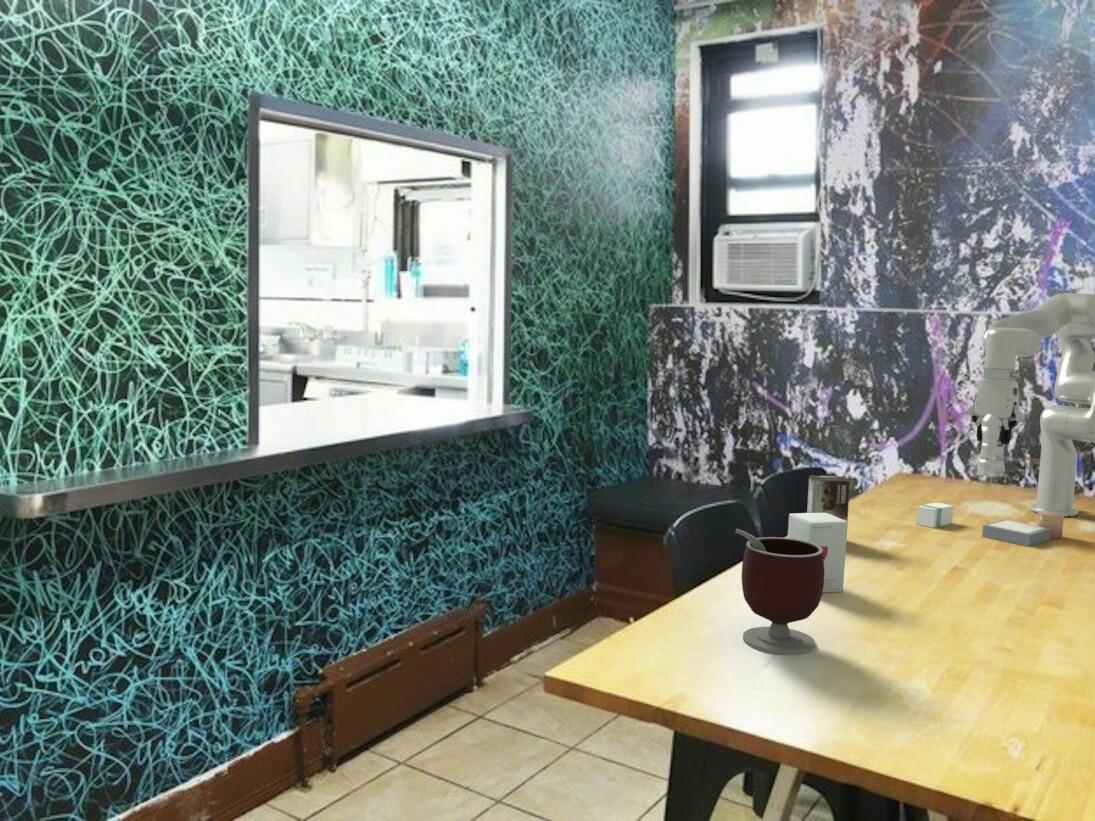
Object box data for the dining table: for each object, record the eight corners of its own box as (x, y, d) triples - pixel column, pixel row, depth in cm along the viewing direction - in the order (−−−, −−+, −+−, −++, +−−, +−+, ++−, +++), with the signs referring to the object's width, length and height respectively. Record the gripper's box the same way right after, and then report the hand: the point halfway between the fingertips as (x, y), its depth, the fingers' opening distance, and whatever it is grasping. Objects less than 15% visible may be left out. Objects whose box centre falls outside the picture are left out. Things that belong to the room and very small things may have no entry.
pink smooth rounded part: (1042, 532, 260) (1044, 510, 259) (1065, 537, 255) (1068, 515, 254) (1032, 535, 256) (1034, 513, 255) (1055, 540, 251) (1058, 517, 250)
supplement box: (805, 594, 198) (809, 522, 196) (783, 581, 206) (787, 512, 205) (844, 592, 200) (849, 521, 198) (821, 579, 209) (825, 511, 207)
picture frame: (1004, 530, 260) (1005, 519, 260) (1050, 540, 251) (1051, 528, 251) (982, 536, 253) (983, 524, 253) (1028, 546, 244) (1029, 534, 243)
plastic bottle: (1007, 479, 258) (1014, 404, 256) (981, 478, 258) (988, 403, 256) (998, 475, 264) (1004, 402, 262) (972, 474, 265) (978, 401, 262)
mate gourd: (806, 629, 177) (812, 521, 174) (830, 657, 163) (838, 540, 161) (721, 627, 176) (727, 519, 174) (738, 655, 162) (745, 538, 160)
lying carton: (934, 520, 271) (936, 502, 271) (952, 523, 268) (953, 505, 267) (915, 524, 265) (917, 506, 265) (933, 528, 261) (934, 509, 261)
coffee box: (841, 538, 246) (845, 476, 244) (846, 545, 240) (851, 480, 238) (804, 537, 247) (808, 474, 245) (809, 543, 240) (812, 479, 239)
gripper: (1038, 377, 254) (1032, 446, 256) (975, 372, 267) (969, 437, 269) (1023, 378, 249) (1017, 447, 251) (960, 373, 263) (955, 439, 265)
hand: (993, 441), depth 260 cm, fingers closed on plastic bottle, 5 cm apart
